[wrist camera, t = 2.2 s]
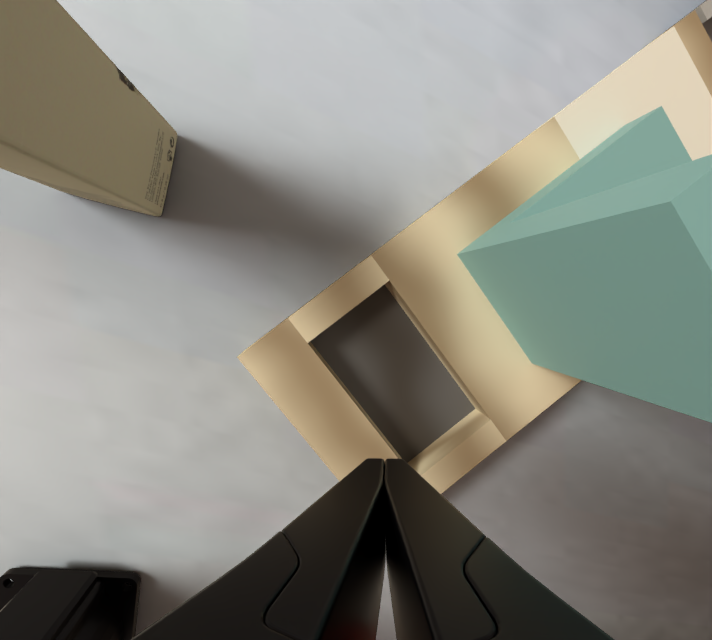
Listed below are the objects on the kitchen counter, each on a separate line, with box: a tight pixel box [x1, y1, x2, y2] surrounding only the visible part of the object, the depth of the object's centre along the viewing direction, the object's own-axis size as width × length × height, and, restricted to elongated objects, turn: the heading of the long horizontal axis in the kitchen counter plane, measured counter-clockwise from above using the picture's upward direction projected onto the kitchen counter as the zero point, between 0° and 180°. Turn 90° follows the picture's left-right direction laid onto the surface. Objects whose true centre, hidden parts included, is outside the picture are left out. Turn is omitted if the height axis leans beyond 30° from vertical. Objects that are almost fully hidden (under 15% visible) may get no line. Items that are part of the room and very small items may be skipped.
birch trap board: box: [237, 0, 712, 494], centre depth 20 cm, size 37×12×2 cm, turn 127°
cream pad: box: [537, 26, 712, 161], centre depth 20 cm, size 8×12×2 cm, turn 37°
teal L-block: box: [457, 106, 712, 423], centre depth 14 cm, size 11×7×11 cm, turn 127°
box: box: [0, 0, 177, 216], centre depth 12 cm, size 5×4×13 cm
